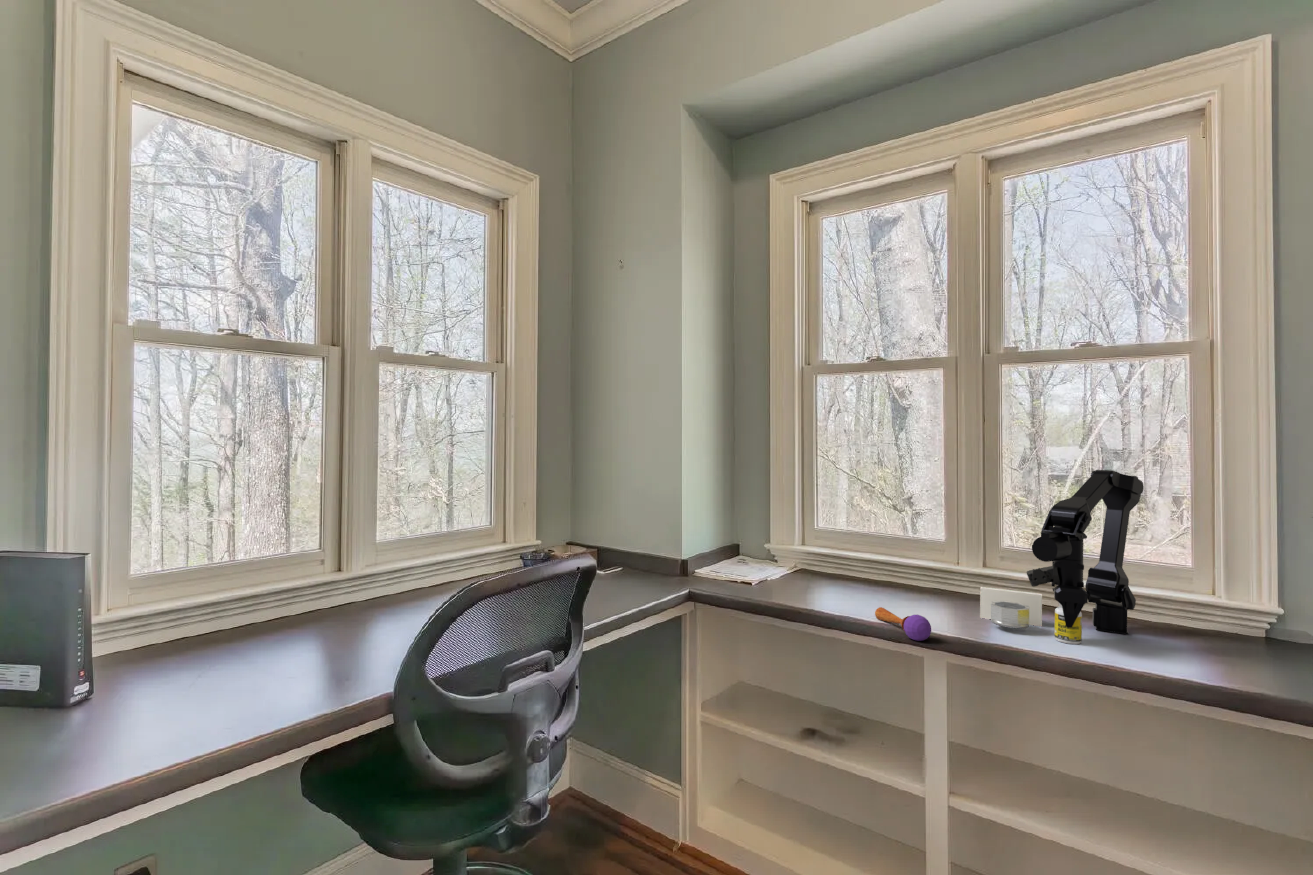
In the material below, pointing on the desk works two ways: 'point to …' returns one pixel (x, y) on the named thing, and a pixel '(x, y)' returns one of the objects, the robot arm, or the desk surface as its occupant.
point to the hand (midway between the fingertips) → (1068, 624)
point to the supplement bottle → (1067, 628)
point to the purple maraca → (907, 624)
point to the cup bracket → (1010, 614)
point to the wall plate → (1011, 596)
